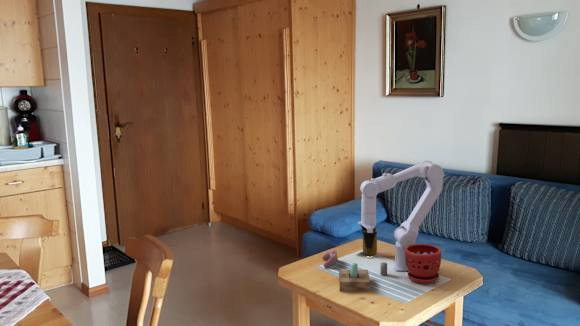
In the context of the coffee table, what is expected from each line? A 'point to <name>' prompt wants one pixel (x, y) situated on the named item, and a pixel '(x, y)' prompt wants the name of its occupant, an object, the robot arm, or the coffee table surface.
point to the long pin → (354, 270)
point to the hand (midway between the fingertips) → (368, 244)
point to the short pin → (383, 269)
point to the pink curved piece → (330, 258)
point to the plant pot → (423, 263)
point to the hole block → (354, 281)
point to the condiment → (369, 251)
